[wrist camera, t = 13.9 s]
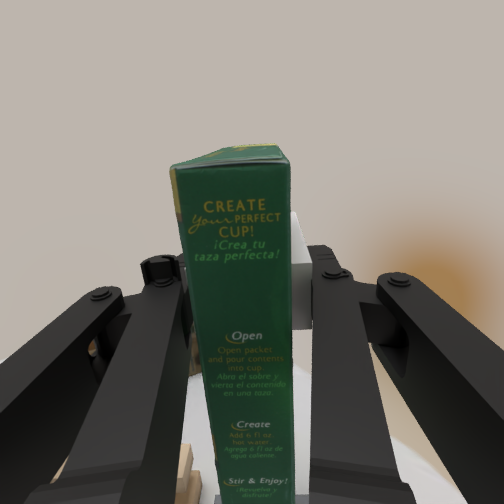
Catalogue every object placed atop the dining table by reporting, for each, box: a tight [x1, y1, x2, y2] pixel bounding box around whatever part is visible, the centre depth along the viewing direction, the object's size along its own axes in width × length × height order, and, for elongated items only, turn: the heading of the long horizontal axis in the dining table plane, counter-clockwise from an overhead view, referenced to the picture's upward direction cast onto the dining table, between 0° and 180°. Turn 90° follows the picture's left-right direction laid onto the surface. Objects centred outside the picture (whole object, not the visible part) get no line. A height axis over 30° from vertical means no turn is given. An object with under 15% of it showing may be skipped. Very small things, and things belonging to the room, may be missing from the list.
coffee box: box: [169, 144, 295, 504], centre depth 13 cm, size 8×3×13 cm, turn 176°
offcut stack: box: [50, 444, 202, 504], centre depth 25 cm, size 11×3×5 cm, turn 88°
